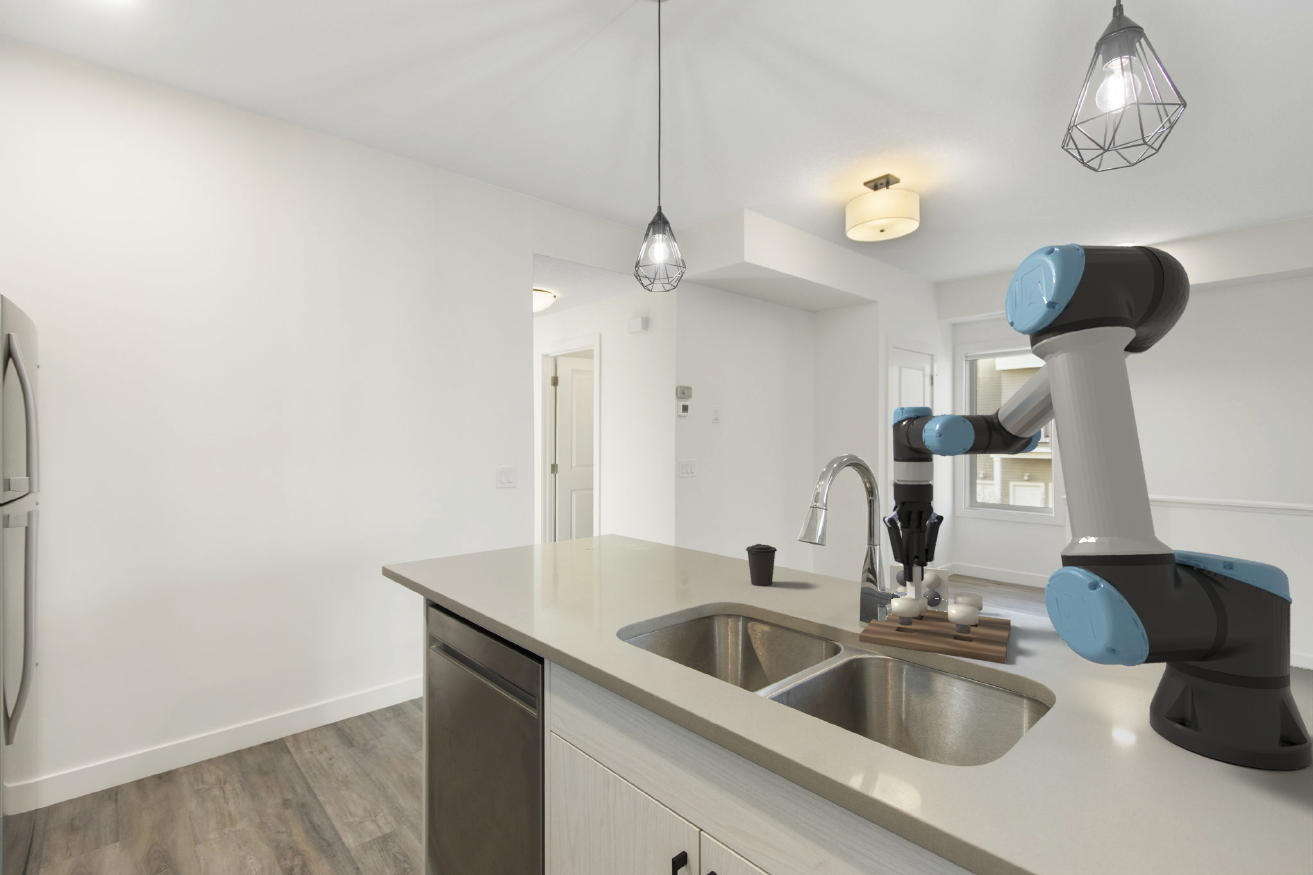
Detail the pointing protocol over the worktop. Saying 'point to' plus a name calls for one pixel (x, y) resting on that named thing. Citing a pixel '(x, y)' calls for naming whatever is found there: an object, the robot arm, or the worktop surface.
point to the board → (943, 636)
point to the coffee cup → (761, 564)
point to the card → (924, 586)
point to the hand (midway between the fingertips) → (913, 596)
